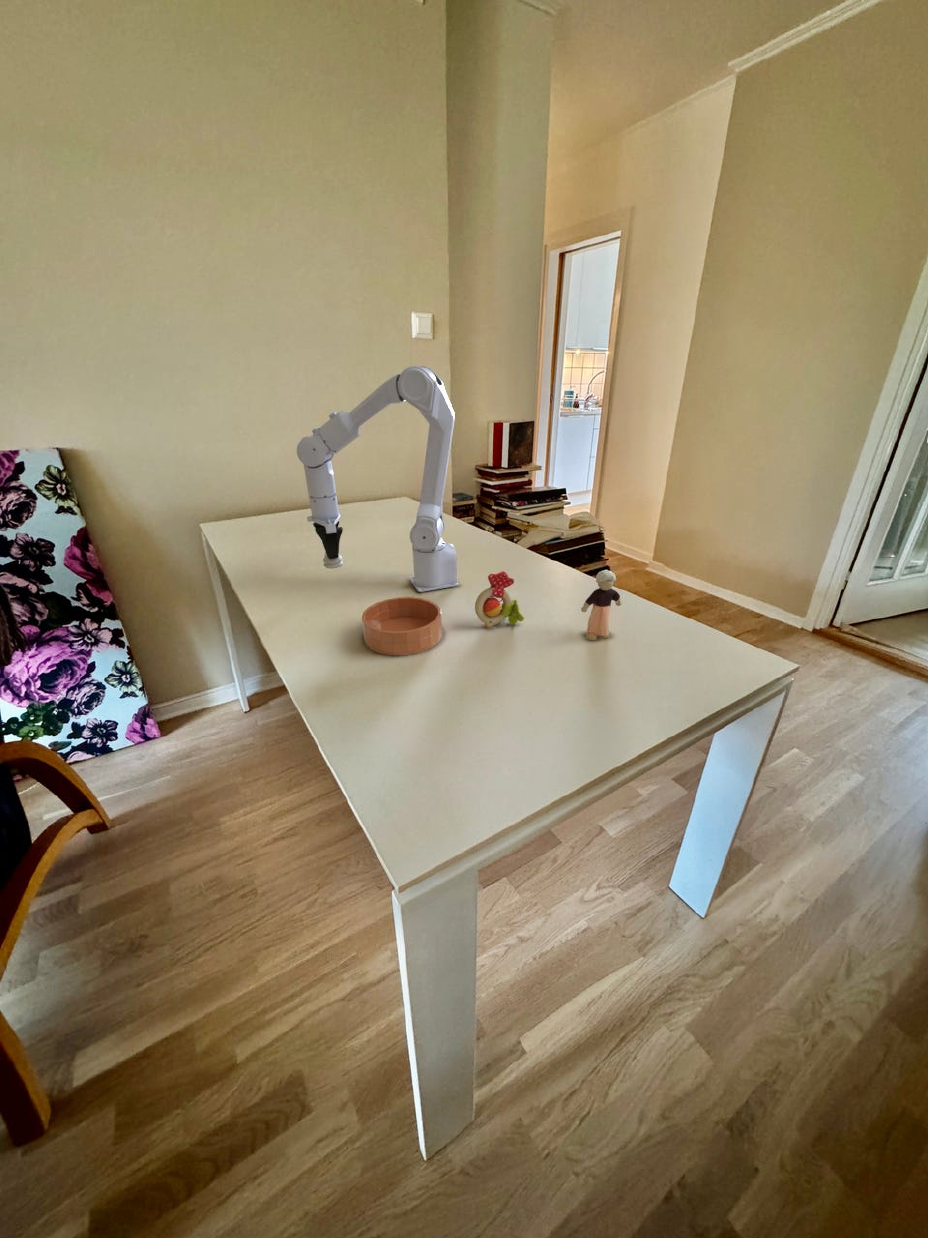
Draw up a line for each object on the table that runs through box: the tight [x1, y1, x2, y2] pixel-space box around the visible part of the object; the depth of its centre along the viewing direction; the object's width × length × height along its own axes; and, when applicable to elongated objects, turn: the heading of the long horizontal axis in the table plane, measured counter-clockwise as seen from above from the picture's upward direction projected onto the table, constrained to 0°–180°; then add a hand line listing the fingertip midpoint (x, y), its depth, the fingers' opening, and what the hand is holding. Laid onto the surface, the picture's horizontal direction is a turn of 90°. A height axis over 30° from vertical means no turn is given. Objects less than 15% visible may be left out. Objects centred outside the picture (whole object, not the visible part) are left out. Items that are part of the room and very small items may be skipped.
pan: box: [361, 596, 443, 656], centre depth 88 cm, size 14×14×4 cm
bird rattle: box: [474, 570, 525, 629], centre depth 89 cm, size 6×11×9 cm
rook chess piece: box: [322, 550, 344, 570], centre depth 108 cm, size 4×4×8 cm
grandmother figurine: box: [580, 569, 622, 641], centre depth 85 cm, size 8×4×13 cm, turn 117°
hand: (332, 555), depth 109 cm, fingers closed on rook chess piece, 3 cm apart
